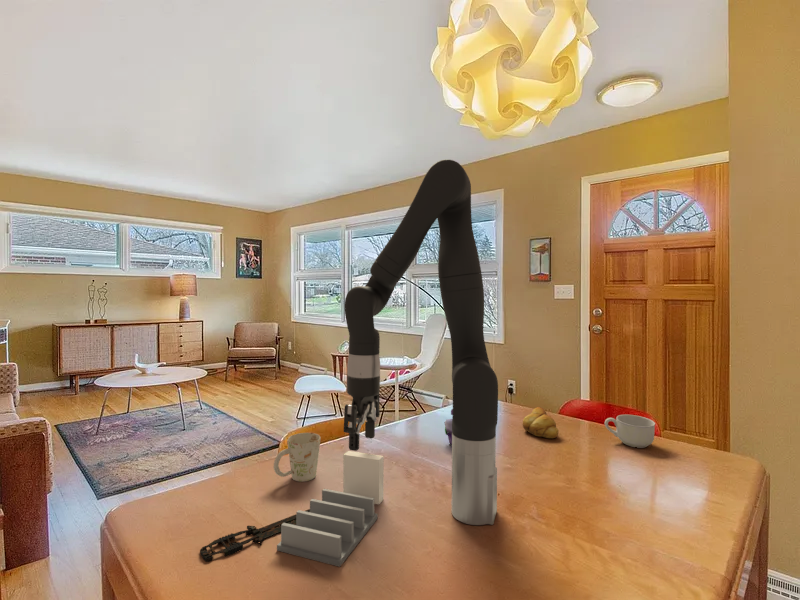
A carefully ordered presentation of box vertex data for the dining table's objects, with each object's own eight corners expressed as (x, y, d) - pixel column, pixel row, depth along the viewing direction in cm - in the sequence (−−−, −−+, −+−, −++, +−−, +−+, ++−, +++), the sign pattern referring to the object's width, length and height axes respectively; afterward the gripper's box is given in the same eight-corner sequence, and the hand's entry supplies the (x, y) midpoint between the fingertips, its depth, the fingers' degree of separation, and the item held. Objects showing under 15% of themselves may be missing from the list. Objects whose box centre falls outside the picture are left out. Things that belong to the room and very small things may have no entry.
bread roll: (565, 439, 135) (565, 415, 135) (539, 442, 132) (540, 417, 132) (541, 427, 147) (541, 405, 147) (517, 429, 144) (517, 407, 144)
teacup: (655, 442, 132) (655, 417, 132) (654, 453, 123) (655, 426, 123) (606, 434, 139) (606, 411, 139) (602, 444, 130) (603, 419, 130)
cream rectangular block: (348, 492, 98) (348, 450, 98) (383, 499, 95) (383, 456, 95) (343, 497, 95) (343, 454, 95) (379, 504, 92) (379, 460, 92)
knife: (322, 508, 92) (322, 501, 92) (335, 521, 86) (335, 514, 86) (197, 549, 77) (197, 541, 77) (204, 567, 71) (204, 559, 71)
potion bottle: (441, 439, 134) (441, 402, 134) (467, 438, 135) (467, 402, 135) (447, 449, 125) (447, 410, 125) (474, 448, 126) (475, 409, 126)
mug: (326, 476, 106) (327, 437, 106) (283, 493, 97) (283, 451, 97) (308, 467, 112) (308, 430, 112) (265, 482, 103) (265, 442, 103)
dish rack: (323, 507, 91) (323, 487, 91) (377, 518, 86) (377, 497, 86) (276, 550, 75) (276, 526, 75) (339, 566, 71) (339, 540, 71)
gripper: (365, 380, 87) (364, 457, 87) (390, 369, 100) (388, 436, 100) (334, 377, 89) (332, 452, 89) (362, 367, 103) (360, 432, 103)
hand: (362, 443), depth 95 cm, fingers open, 8 cm apart
